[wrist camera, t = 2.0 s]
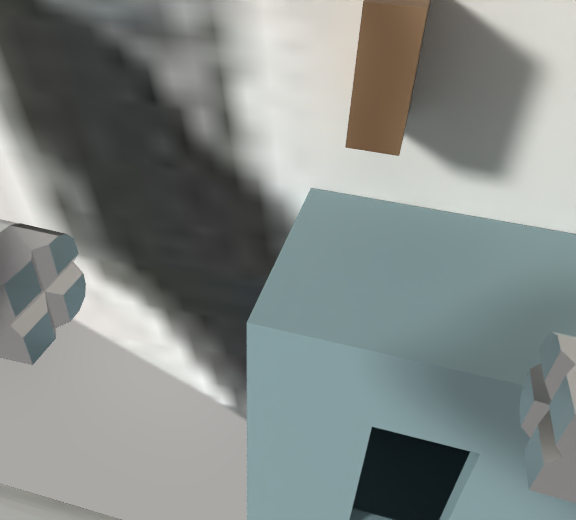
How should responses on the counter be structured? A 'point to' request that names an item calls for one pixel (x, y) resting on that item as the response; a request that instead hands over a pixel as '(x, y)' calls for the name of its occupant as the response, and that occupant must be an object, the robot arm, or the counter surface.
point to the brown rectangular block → (385, 73)
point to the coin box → (401, 364)
